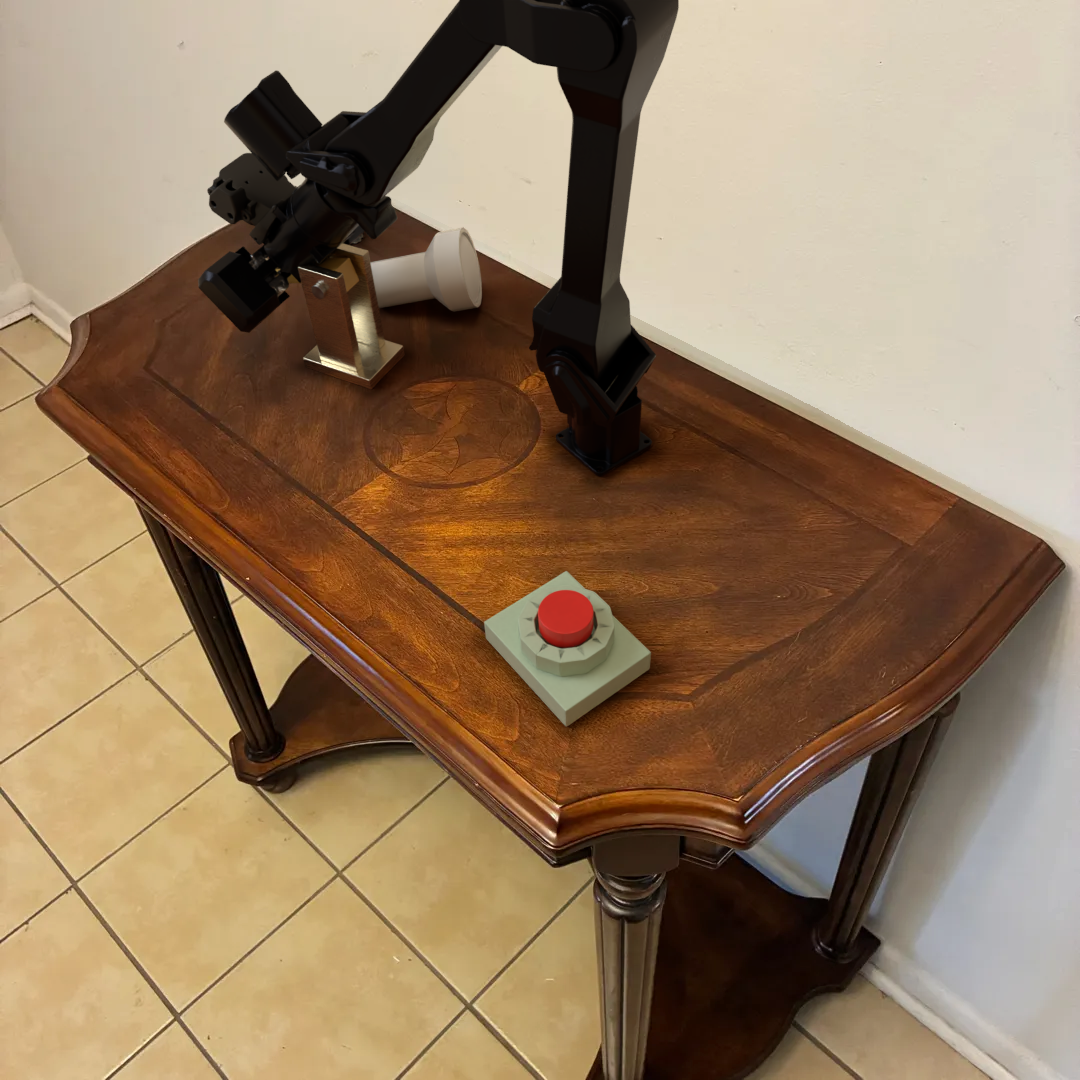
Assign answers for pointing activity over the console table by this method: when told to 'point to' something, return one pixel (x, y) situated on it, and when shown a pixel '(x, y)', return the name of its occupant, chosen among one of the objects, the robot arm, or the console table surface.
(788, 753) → the console table surface
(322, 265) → the switch lever
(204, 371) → the console table surface
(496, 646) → the button box
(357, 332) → the switch bracket
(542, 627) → the red button
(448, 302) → the spotlight
